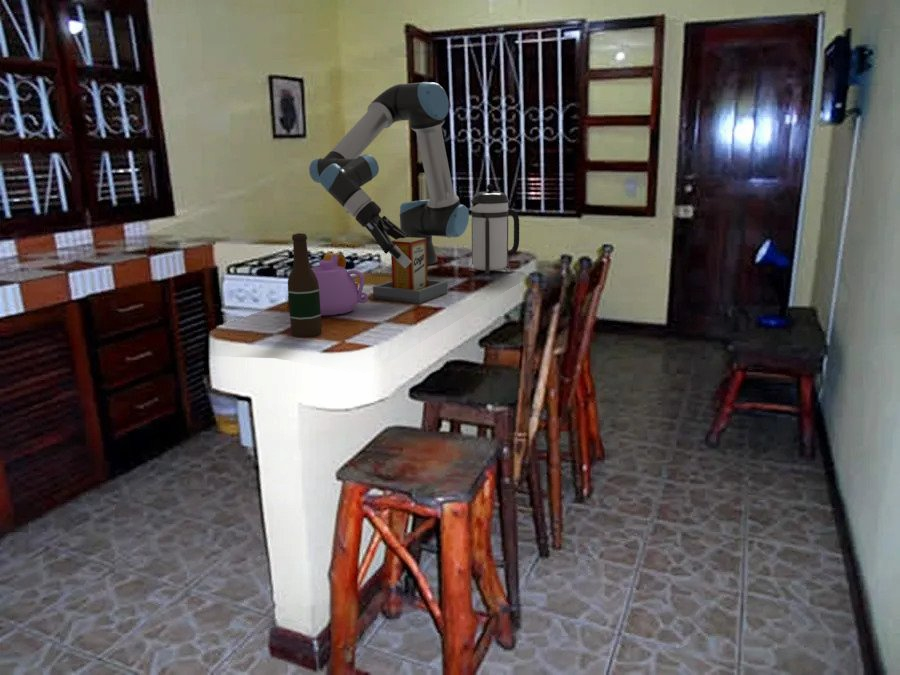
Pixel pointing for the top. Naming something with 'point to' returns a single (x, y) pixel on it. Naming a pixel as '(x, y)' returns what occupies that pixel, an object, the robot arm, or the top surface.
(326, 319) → the top surface
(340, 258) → the bracket
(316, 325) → the beer bottle
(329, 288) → the teapot
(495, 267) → the coffee press
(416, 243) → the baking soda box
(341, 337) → the top surface
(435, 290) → the tray
